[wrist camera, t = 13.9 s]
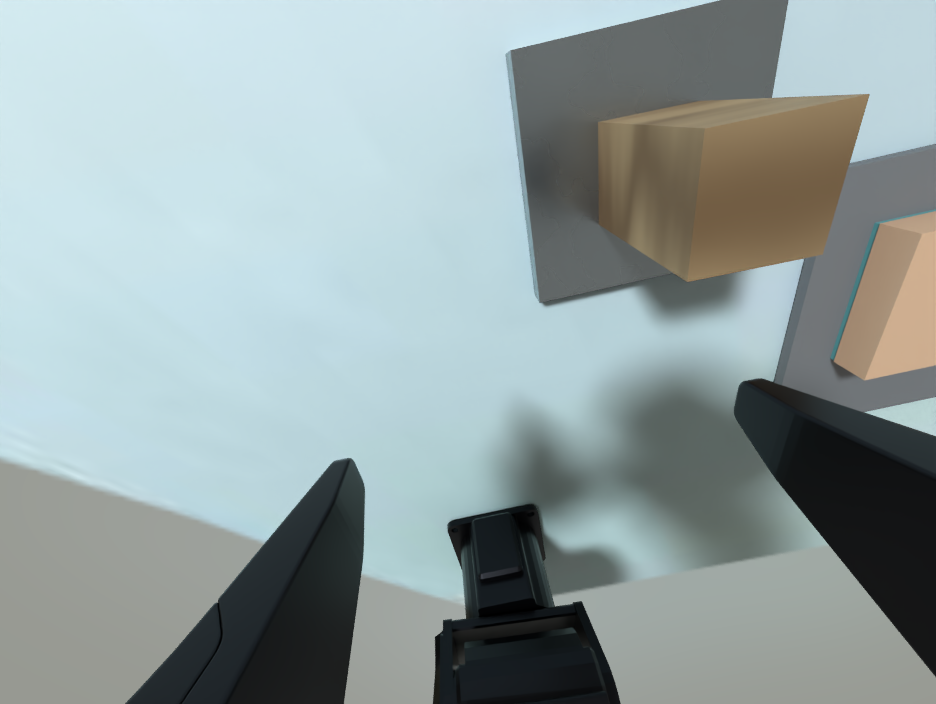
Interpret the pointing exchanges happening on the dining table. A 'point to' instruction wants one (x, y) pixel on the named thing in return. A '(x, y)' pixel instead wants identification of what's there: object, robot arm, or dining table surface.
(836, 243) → the rubber mat
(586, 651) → the robot arm
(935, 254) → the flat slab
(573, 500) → the dining table surface
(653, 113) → the walnut block
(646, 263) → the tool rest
